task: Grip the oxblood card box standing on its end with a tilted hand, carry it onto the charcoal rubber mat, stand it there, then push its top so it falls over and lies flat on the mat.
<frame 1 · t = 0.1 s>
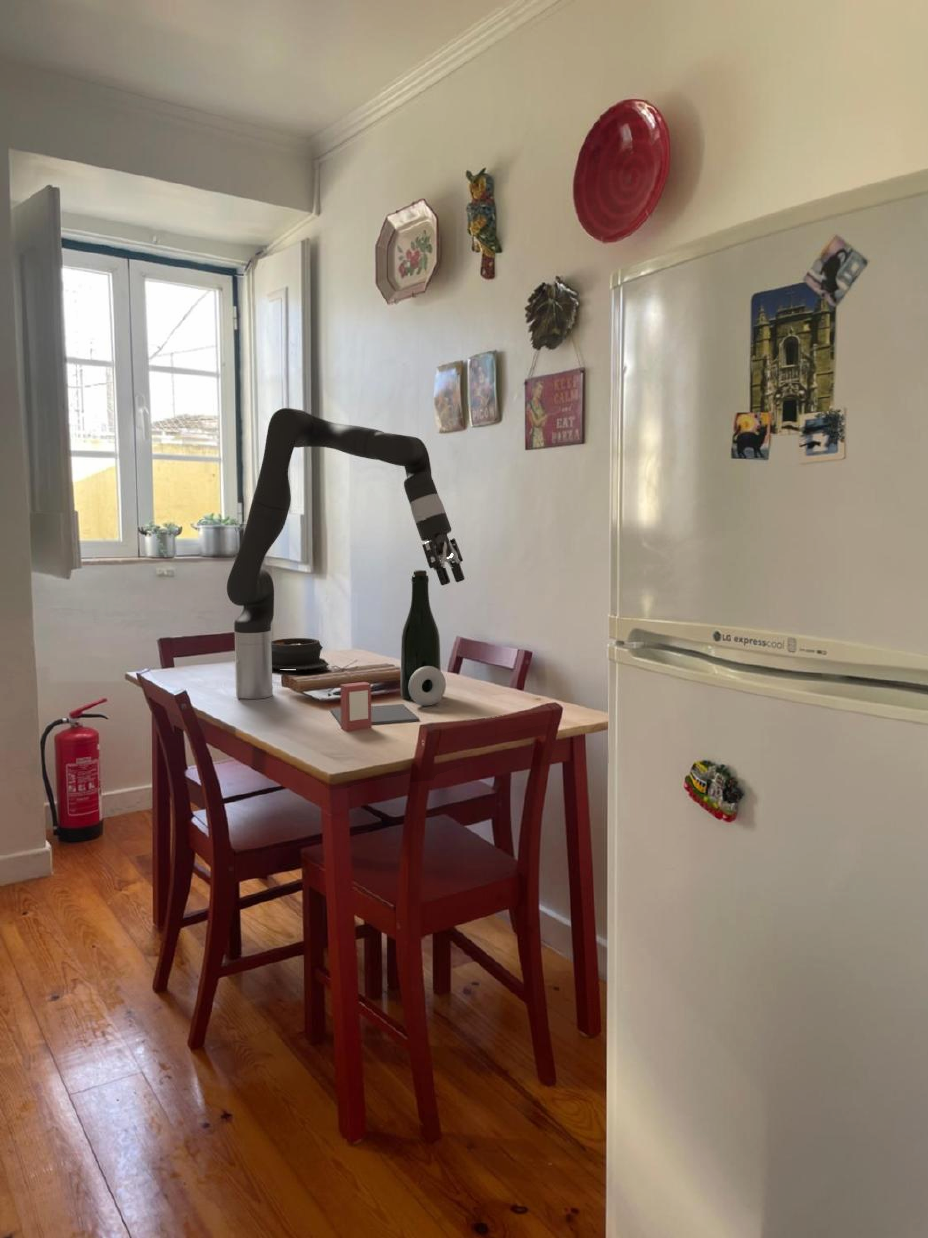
hand: (453, 582, 209), 31 cm above the table, tool tilted 20°, fingers open, 8 cm apart
dark green wine bottle: (421, 698, 232), on the table
mat: (373, 716, 211), on the table
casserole: (295, 669, 275), on the table
card box: (356, 728, 200), on the table
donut: (427, 706, 223), on the table
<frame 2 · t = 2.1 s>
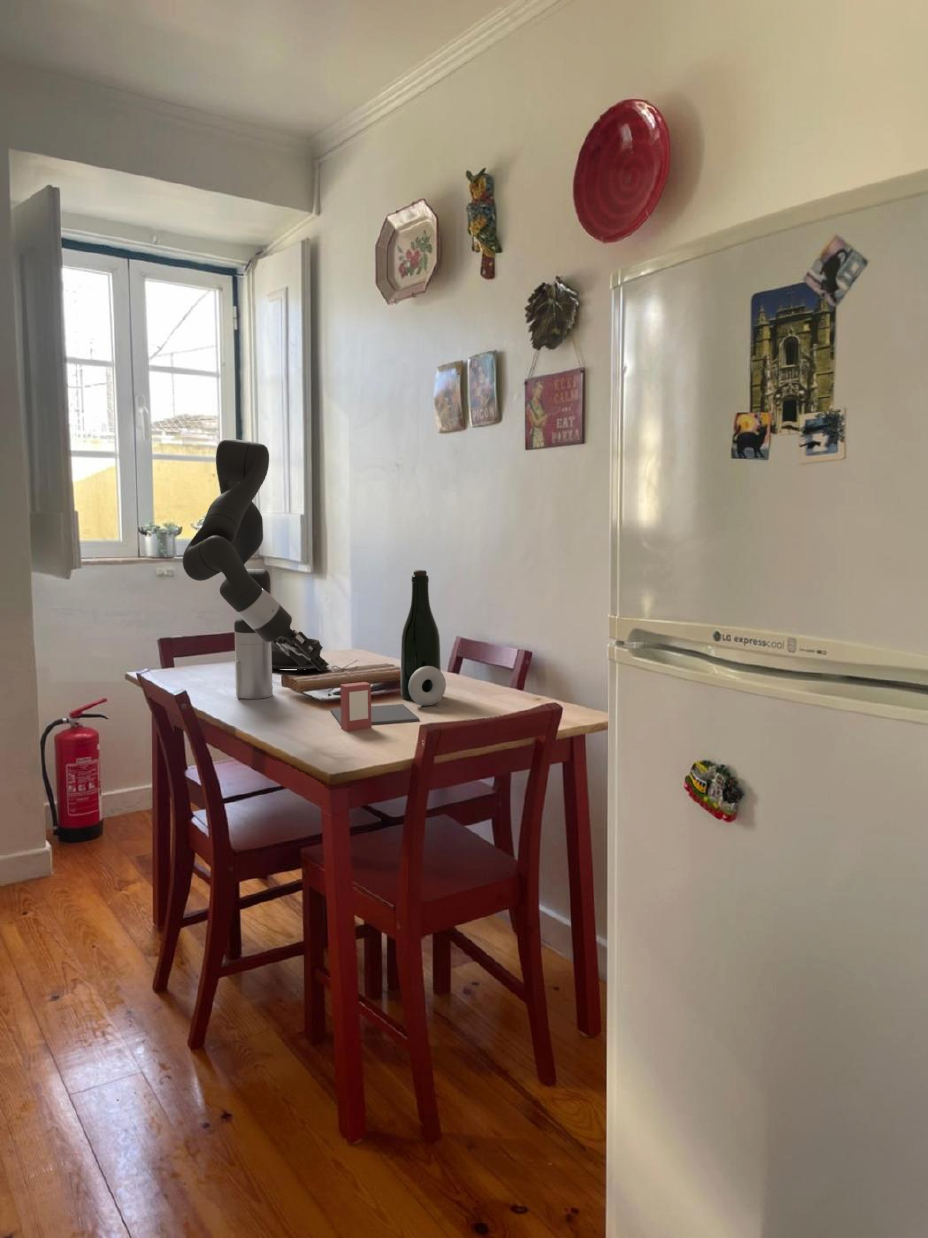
hand: (314, 665, 193), 15 cm above the table, tool tilted 45°, fingers open, 8 cm apart
nothing on the table moved.
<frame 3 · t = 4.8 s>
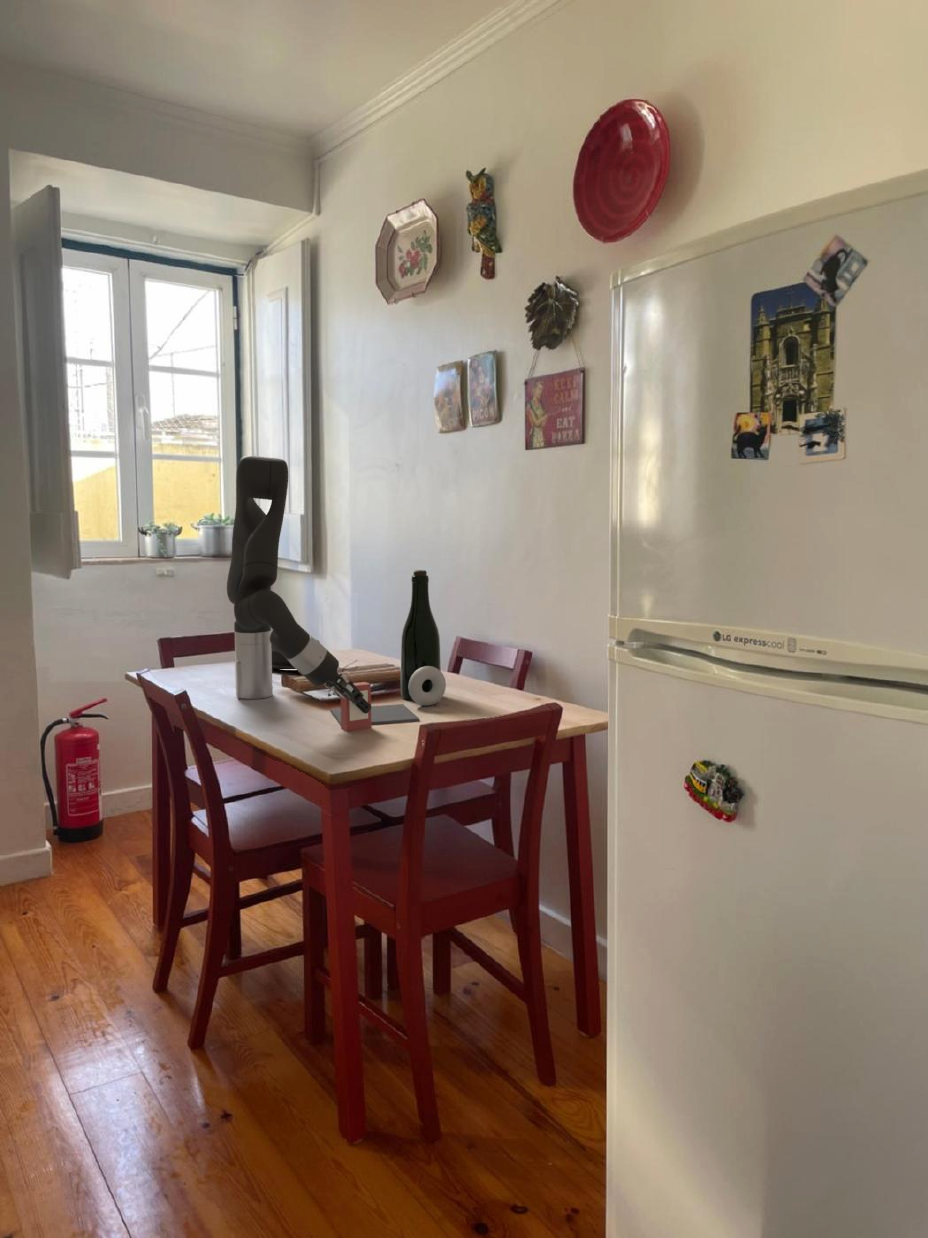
hand: (364, 708, 201), 4 cm above the table, tool tilted 45°, fingers open, 3 cm apart
card box: (356, 728, 200), on the table, touching gripper
everything else where it was.
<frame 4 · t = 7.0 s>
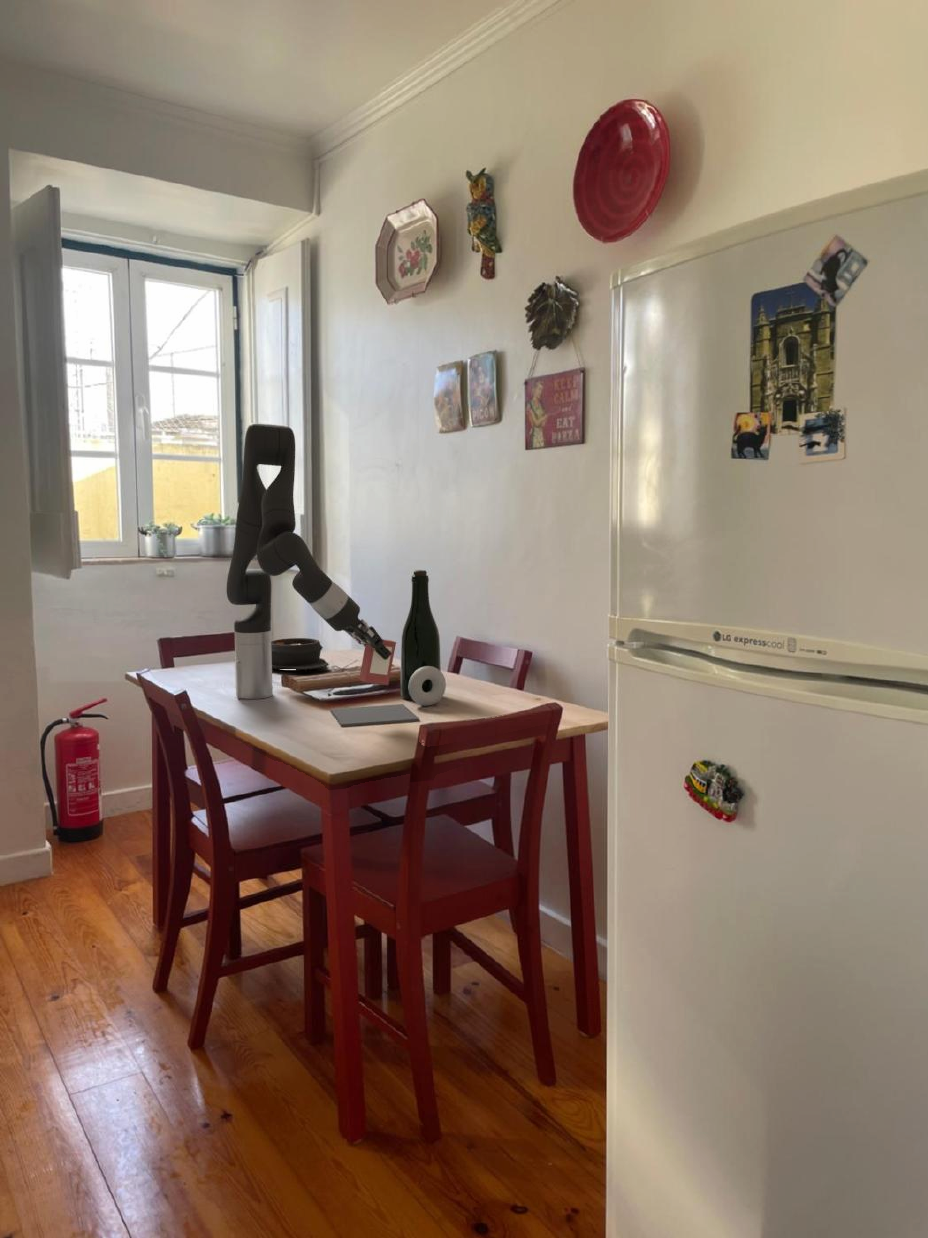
hand: (384, 655, 204), 15 cm above the table, tool tilted 45°, fingers closed on card box, 3 cm apart
card box: (373, 682, 203), point 9 cm above the table, tilted 12°, touching gripper
everything else where it was.
when the fingers open (9 cm above the table, at t = 9.1 s): card box drops 1 cm, resting on mat.
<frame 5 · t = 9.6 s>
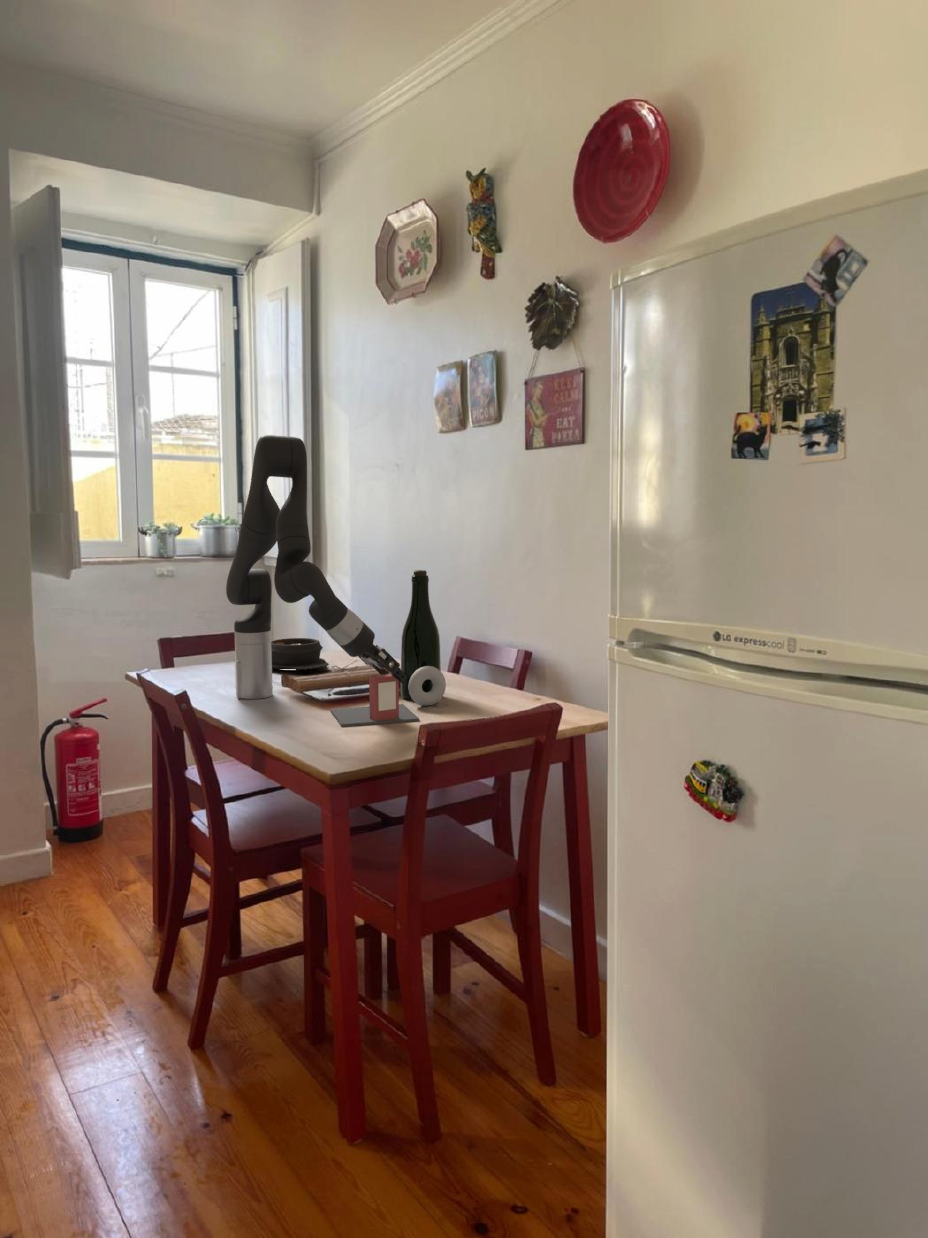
hand: (395, 677, 207), 10 cm above the table, tool tilted 45°, fingers open, 8 cm apart
card box: (384, 718, 207), point 1 cm above the table, touching mat
everything else where it was.
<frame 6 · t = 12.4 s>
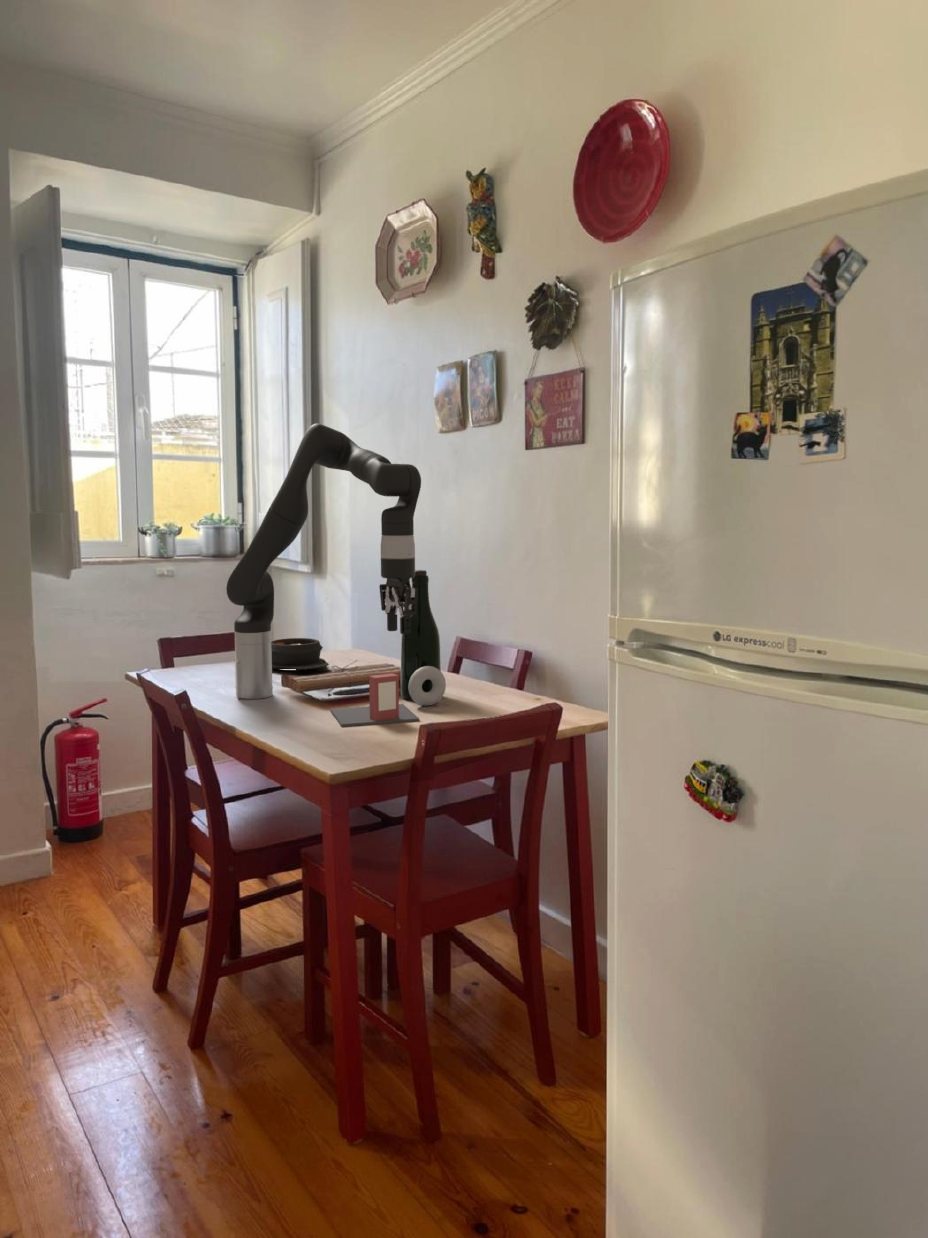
hand: (398, 632, 198), 21 cm above the table, tool pointing down, fingers open, 5 cm apart
nothing on the table moved.
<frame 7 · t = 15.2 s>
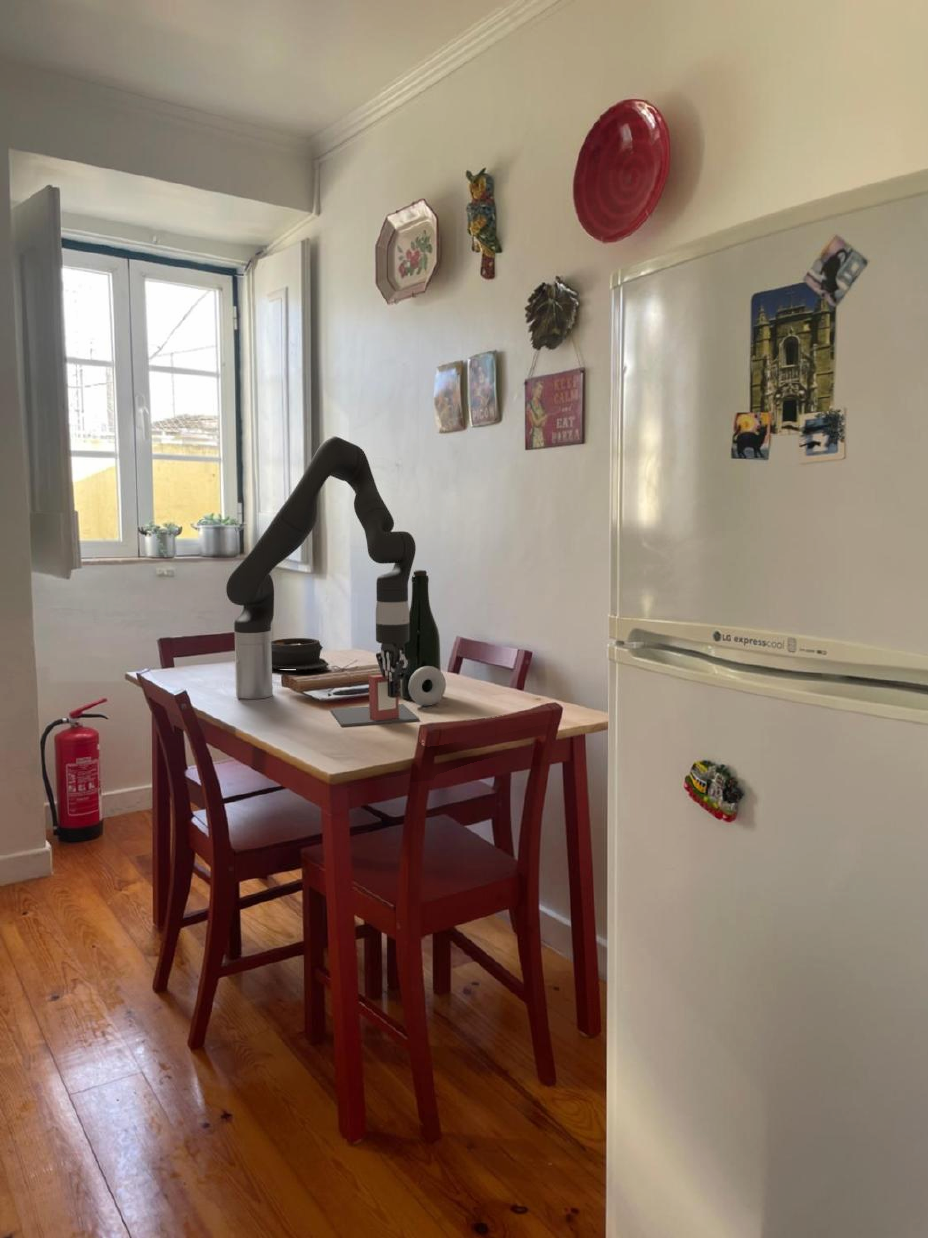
hand: (393, 697, 203), 6 cm above the table, tool pointing down, fingers closed
card box: (384, 718, 207), point 1 cm above the table, touching gripper, mat
everything else where it was.
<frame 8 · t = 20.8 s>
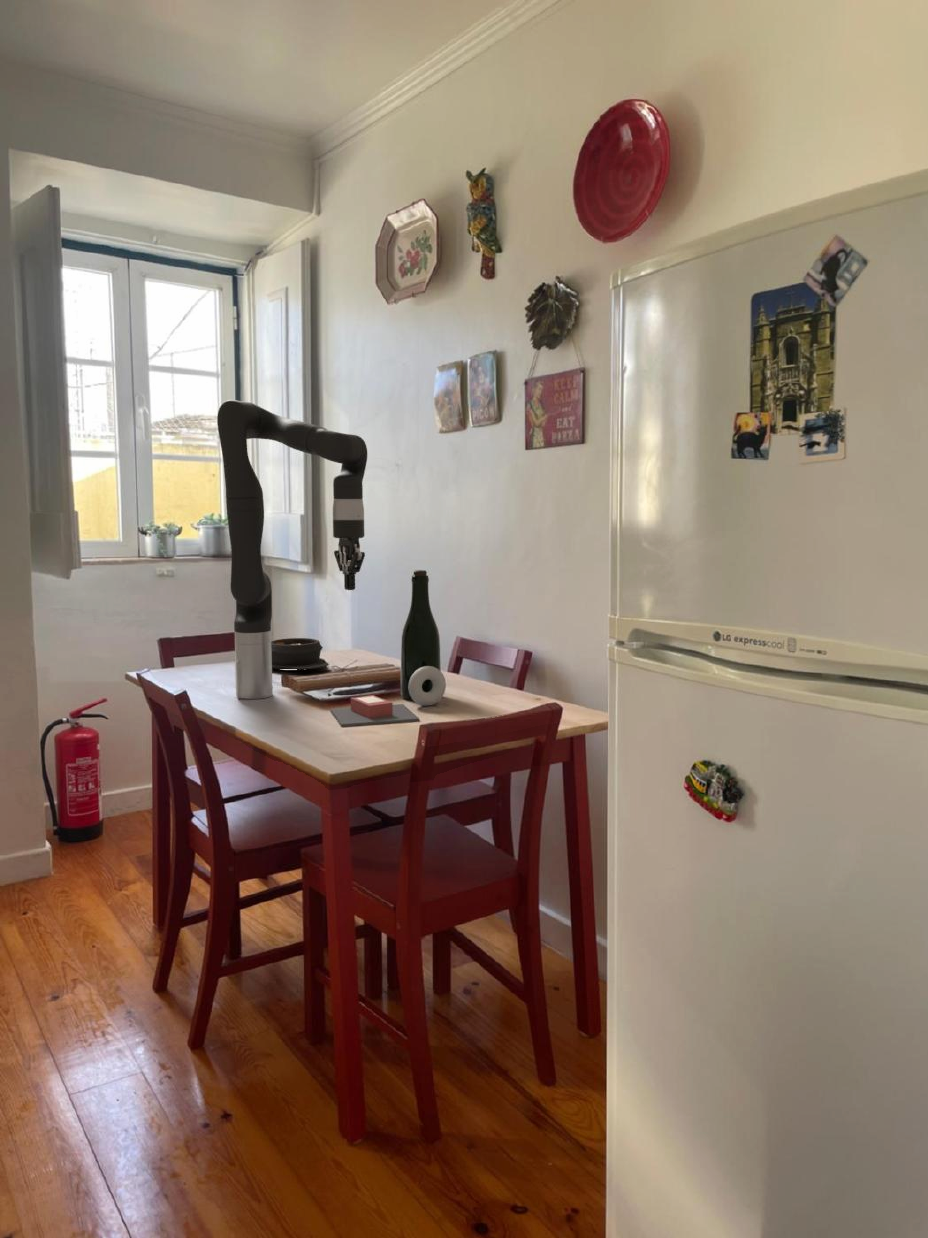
hand: (349, 589, 218), 29 cm above the table, tool pointing down, fingers closed
card box: (381, 710, 208), point 2 cm above the table, tilted 90°, touching mat
everything else where it was.
at the end: card box tilted 90°; card box inside the target area on the mat (4.0 cm from its centre), point 2.1 cm above the mat's base; the gripper is holding nothing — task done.
